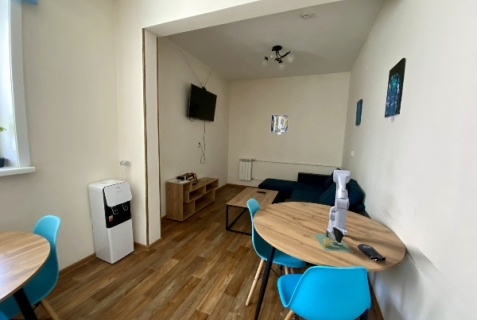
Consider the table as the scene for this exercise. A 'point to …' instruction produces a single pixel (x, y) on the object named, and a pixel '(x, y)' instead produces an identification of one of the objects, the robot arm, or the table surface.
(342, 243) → the silver long flat bar
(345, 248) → the board
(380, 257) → the electronic device
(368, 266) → the table surface
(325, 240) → the tan stepped block
